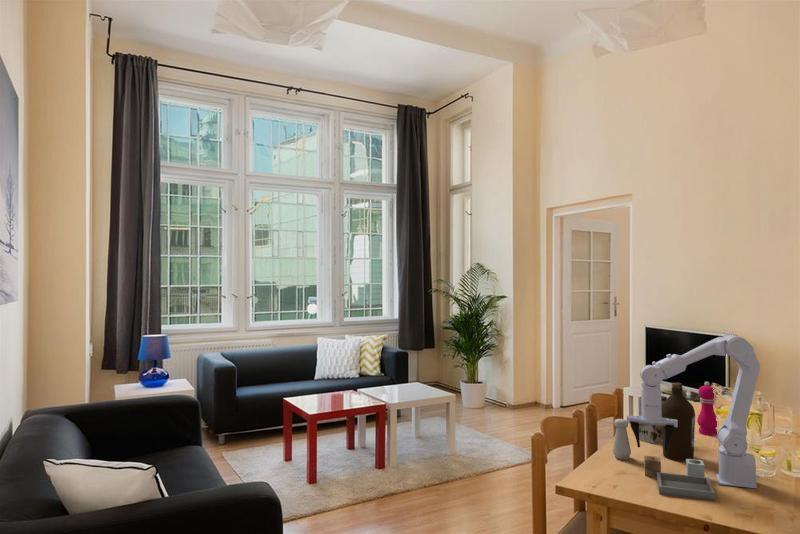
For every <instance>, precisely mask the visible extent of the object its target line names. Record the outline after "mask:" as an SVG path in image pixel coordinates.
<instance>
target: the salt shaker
mask: <svg viewBox="0 0 800 534" xmlns="http://www.w3.org/2000/svg"><path fill="white" fill-rule="evenodd" d="M613 424H614V426H615V435H614V440H613V444H612V452H613V453H612V454H613V455H614V457H615V459H618V460H622V461H624V460H628V459H629V458H630V456H631V453H632V450H631V445H630V440H629V435H628V431H627V428H628V426H629V423H627V419H624V418H616V419H615V420H614V423H613Z"/></svg>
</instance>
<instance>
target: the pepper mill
mask: <svg viewBox="0 0 800 534" xmlns="http://www.w3.org/2000/svg"><path fill="white" fill-rule="evenodd" d="M713 388H714V387H713V386H711V385H710V382H709V381H704V385H701V386H700V387H699V388H698V393H697V394H698V395H699V396H700V398H699V402H700V403H701V408H700V411H699V414H698V416H697V420H696V422H697V424H698V426H699V427H698V433H699V434H700V435H703V436H709V437H710V436H717V433H718V429H717V427H718V426H717V421H716V417H717V415H716V413H715V410H714V404H715V403H714V401H715V400H714V399H715V397H714V393H713V390H714V389H715V388H714V389H713ZM712 389H713V390H712Z"/></svg>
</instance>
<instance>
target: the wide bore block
mask: <svg viewBox="0 0 800 534" xmlns="http://www.w3.org/2000/svg"><path fill="white" fill-rule="evenodd" d="M685 469H686V471H685V473H686V474H685V475H689V476H698V477H705V476H706V475H705V463H704V461H703V460H701V459H695V458H694V459H686V461H685Z"/></svg>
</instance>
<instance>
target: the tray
mask: <svg viewBox="0 0 800 534" xmlns="http://www.w3.org/2000/svg"><path fill="white" fill-rule="evenodd" d="M656 482H657V489H658V494H659V495H661V496H663V495H664V496H671V497H672V496H673V497H678V498H679V497H680V498H687V499H697V500H702V501H703V500H704V501H705V500H706V501H711V500H712V501H713V502H715V501H716V493H715V490H714V488H713V485H712V483H711V480H710V477H698V476H689V475H686V474H678V473H669V472H662V471H661V472H657V477H656Z"/></svg>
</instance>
